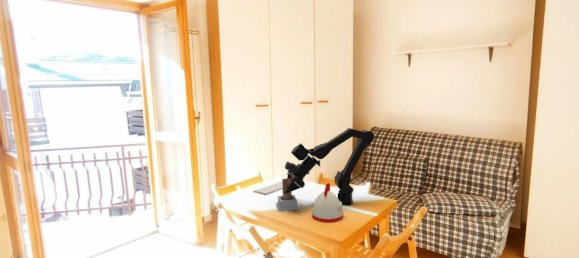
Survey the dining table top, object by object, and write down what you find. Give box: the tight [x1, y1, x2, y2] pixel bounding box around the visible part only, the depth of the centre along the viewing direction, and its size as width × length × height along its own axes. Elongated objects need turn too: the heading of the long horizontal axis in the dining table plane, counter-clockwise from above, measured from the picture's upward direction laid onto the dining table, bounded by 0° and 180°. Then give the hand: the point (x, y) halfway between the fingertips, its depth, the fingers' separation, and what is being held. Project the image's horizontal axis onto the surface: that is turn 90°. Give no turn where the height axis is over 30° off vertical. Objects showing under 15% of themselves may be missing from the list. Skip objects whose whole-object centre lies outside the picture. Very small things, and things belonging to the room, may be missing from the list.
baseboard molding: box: [252, 181, 283, 196], centre depth 195 cm, size 31×3×12 cm
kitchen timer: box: [311, 182, 344, 224], centre depth 145 cm, size 14×14×15 cm
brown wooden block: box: [281, 177, 293, 200], centre depth 159 cm, size 4×3×13 cm
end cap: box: [275, 194, 300, 212], centre depth 159 cm, size 10×10×4 cm
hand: (284, 190), depth 159 cm, fingers open, 9 cm apart
